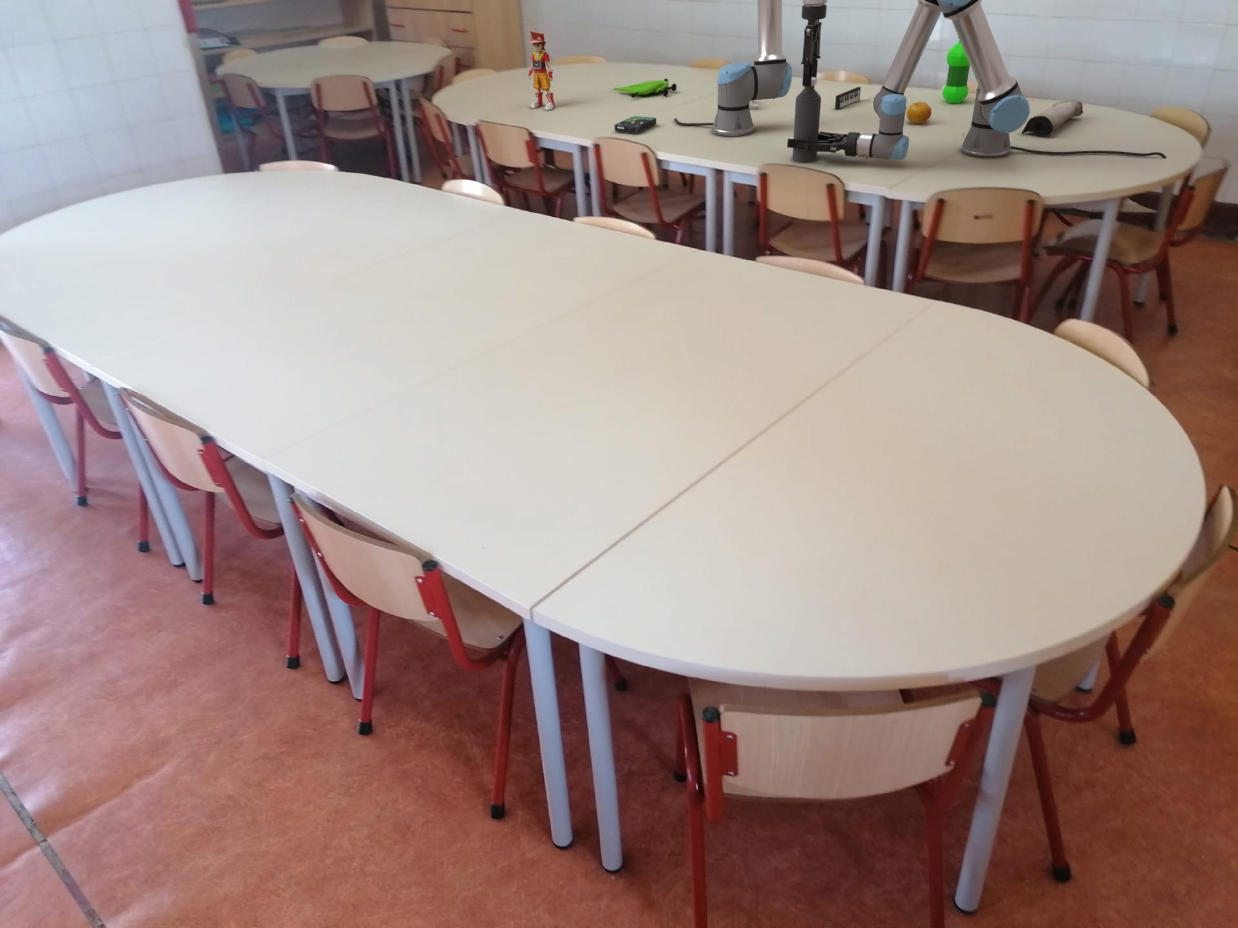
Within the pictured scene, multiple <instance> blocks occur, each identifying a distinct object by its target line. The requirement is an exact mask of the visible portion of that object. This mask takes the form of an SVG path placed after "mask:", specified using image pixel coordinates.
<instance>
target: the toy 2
mask: <svg viewBox="0 0 1238 928" xmlns="http://www.w3.org/2000/svg"><path fill="white" fill-rule="evenodd" d="M669 85H670V83H669V79H668V78H664V79H663V80H649V81H644V82H640V83H634V84H629V85H627V86H621V87H613V88H612V89H613V90H616V91H619V92H623V93H627V94H628V93H629V94H631V95H630V96H631V98H632V99H634V98H636V96H637V95H650V94H652V93H654V94H658V93H662V95H663V96H665V97H667V96H668V95H669V90H671V91H672V92H676V91H677V84H676V83H672V84H671V86H669Z"/></svg>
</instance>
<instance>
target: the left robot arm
mask: <svg viewBox="0 0 1238 928" xmlns="http://www.w3.org/2000/svg"><path fill="white" fill-rule="evenodd" d="M827 3H828V0H802V4H803V5H802V6H801V19H802V20H804V21H805V20H807V25H805V28H804V30H803V35H804V37H803V47H802V60H801V62H800V64H801V65H803V66H802V68H803V69H802V81H803V83H802V82H801V84H802V87H804V86H811V82H812V77H815V78H817V77H818V63H819V59H821V57H822V56H821V55H820V54H821V35H822V33H821V32H822V25H823V24H822V23H823V22H822V21H821V20H824V19H826V17H827V10H828V9H827V8H828V5H827ZM817 79H818V78H817ZM792 80H793V70H792V65H791V63H789V62H787V57H786V56H785V54H784V53H783V0H757V55H756V57H755V58H754V60H753V65H751V63H750V62H748V61H738V62H737V61H736V62H732V63H727V64H726V65H723V66H722V67H720V69H719V70H718V75H717V111H716V114H715V118H714V120H713V122H681V121H679V120H678V119H677V118H676V117H674V118H673V120H674V122H675V123H676V124H677V125H678V126H683V127H703V126H704V127H707V126H710V127H711V126H712V133H713V134H715V135H717V136H721V137H741V136H746V135H750V134H752V133H754V127H755V126H754V122H753V118H752V115H751V111H750V108H749V101H752V100H754V101H760V100H775V99H780V98H784V97H785V96H787V95H788V93H789V91H790V88H791V85H792Z"/></svg>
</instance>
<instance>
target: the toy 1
mask: <svg viewBox="0 0 1238 928" xmlns="http://www.w3.org/2000/svg"><path fill="white" fill-rule="evenodd" d="M529 33H530V35H531V36H528V37H527V38H528V39H529V40H528V41H527V43H529V44H530V43H531V44H532V48H533V50H534V51H533V52H532V55H531V58H530V59H531V63H530V66H528V74H527V75H528V76H527V77H528V79H529V80H531V75H532V74H533V84H532V85H533V86H532V87H533V88H534V89H535V90H536V92H534V95H535V97H536V100H535V101H533V102H531V105H530V108H531V109H535V108H538V107H542V106H544V101H543V100H544V99H543V95H544V92H546V94H545V97H546V99H547V103H546V104H545V106H544V110H546V111H549V110H553V109H554V107H555V106H556V105H555V99H554V92H551V91H550V90H551V86H552V84H551V82H552V81H553V80H554V77H553V73H554V71H555V70H554V69H552V68H551V63H550V61H551V59H550V58H551V57H550V54H549V53H548V52H547V50H546V48H545V46H546V44H547V41H545V35H544V33H543V32H542V33H539V32H535V31H529Z"/></svg>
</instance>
